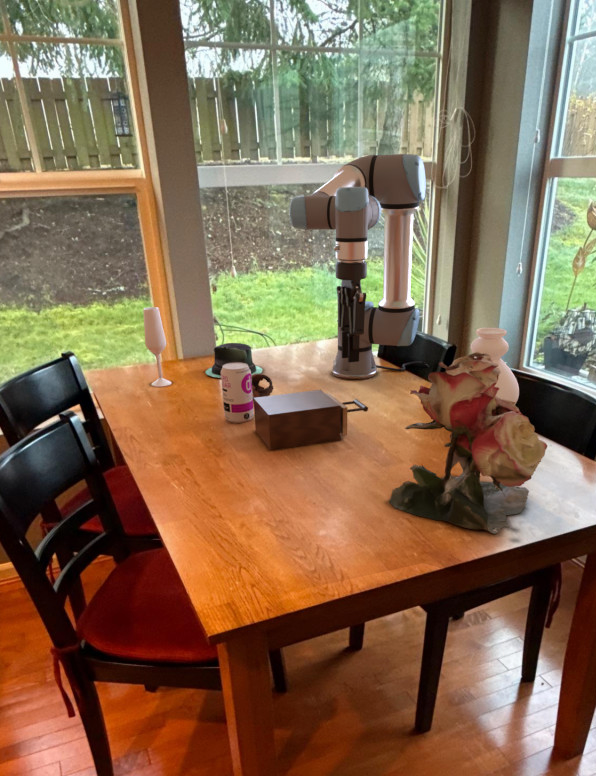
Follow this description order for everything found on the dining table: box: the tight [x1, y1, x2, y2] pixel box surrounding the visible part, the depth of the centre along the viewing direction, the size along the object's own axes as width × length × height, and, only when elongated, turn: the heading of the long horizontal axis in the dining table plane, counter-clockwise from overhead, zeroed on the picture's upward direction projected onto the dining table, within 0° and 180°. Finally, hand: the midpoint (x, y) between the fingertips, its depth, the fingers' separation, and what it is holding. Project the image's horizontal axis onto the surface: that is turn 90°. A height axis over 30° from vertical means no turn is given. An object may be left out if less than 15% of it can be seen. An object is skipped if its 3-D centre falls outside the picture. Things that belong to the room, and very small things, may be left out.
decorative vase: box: [470, 327, 520, 405], centre depth 165 cm, size 18×18×25 cm
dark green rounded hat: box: [205, 342, 263, 379], centre depth 220 cm, size 15×19×20 cm
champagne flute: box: [143, 306, 172, 387], centre depth 204 cm, size 7×7×24 cm
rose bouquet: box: [388, 352, 548, 535], centre depth 125 cm, size 26×29×30 cm
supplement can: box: [220, 363, 255, 424], centre depth 174 cm, size 8×8×15 cm
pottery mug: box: [251, 373, 275, 402], centre depth 193 cm, size 12×10×8 cm
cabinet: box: [253, 389, 341, 451], centre depth 164 cm, size 19×15×9 cm
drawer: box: [324, 392, 369, 436], centre depth 165 cm, size 25×13×7 cm, turn 110°
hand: (350, 359), depth 161 cm, fingers open, 4 cm apart
